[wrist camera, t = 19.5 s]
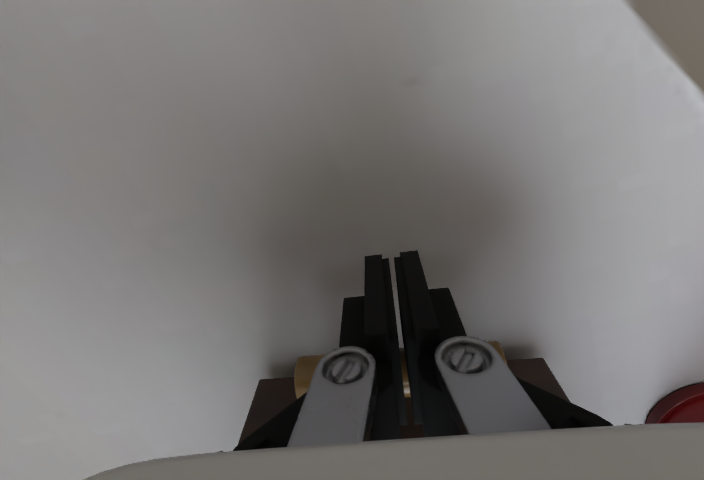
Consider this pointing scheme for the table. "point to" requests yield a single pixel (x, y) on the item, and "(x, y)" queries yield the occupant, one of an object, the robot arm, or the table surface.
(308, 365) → the drawer
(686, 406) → the red cylinder
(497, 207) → the table surface
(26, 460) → the table surface
